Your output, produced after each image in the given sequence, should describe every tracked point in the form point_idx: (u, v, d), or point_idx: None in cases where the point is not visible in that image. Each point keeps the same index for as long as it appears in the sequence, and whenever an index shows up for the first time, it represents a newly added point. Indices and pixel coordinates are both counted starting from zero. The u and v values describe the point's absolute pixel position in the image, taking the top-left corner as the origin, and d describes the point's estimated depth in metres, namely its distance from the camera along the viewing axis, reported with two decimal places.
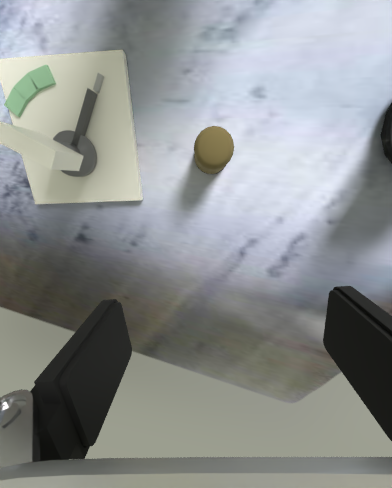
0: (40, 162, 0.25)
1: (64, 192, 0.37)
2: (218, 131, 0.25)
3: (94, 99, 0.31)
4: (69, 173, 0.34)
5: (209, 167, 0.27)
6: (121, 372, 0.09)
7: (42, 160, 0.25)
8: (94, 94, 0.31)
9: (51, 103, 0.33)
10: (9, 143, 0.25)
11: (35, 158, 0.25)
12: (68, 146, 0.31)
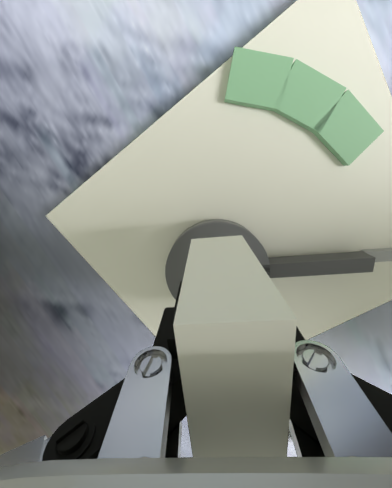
0: None
1: (121, 266, 0.16)
2: None
3: None
4: (172, 284, 0.14)
5: None
6: None
7: None
8: None
9: (296, 169, 0.13)
10: (206, 383, 0.04)
11: None
12: None
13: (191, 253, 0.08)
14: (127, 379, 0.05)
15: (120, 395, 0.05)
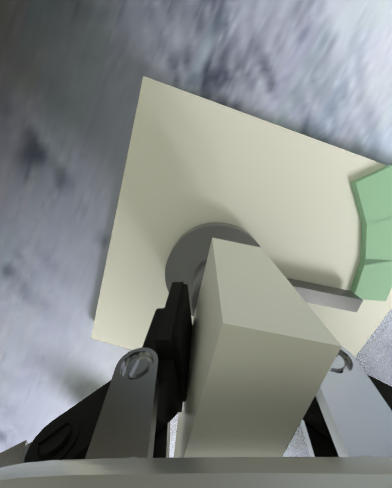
0: None
1: (149, 190, 0.14)
2: None
3: None
4: (170, 275, 0.14)
5: None
6: None
7: None
8: None
9: (328, 268, 0.15)
10: (230, 386, 0.04)
11: None
12: None
13: (217, 252, 0.08)
14: (113, 382, 0.05)
15: (106, 398, 0.05)
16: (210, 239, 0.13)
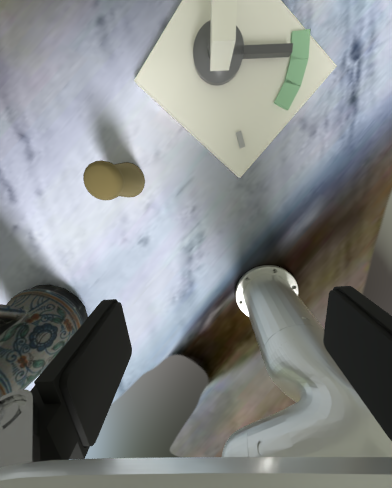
0: (213, 23, 0.20)
1: None
2: (107, 192, 0.27)
3: (283, 55, 0.28)
4: (195, 56, 0.28)
5: (89, 165, 0.27)
6: (121, 372, 0.09)
7: (217, 25, 0.20)
8: (288, 54, 0.28)
9: (269, 81, 0.30)
10: None
11: (215, 14, 0.20)
12: None
13: None
14: None
15: None
16: None
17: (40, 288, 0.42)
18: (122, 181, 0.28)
